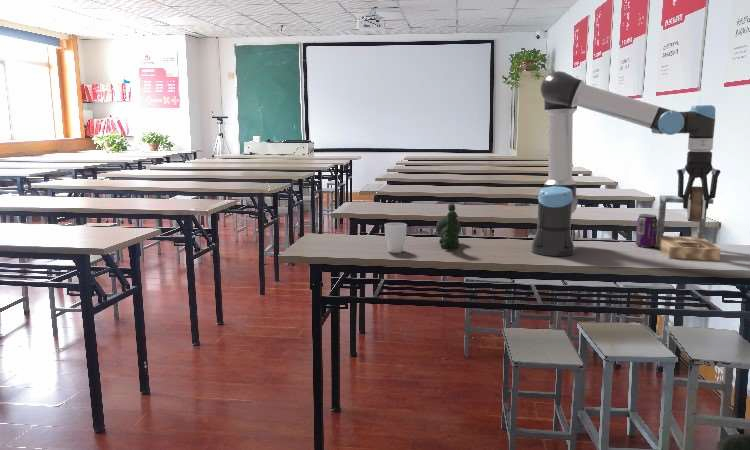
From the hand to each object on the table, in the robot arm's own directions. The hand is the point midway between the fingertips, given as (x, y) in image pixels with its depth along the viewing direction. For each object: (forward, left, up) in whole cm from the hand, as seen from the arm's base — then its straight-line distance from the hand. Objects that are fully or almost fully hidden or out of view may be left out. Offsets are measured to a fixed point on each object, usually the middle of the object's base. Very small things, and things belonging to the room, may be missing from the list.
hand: (694, 217), depth 208 cm
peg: (0, 0, -1) cm, 1 cm away
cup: (-103, -18, -14) cm, 106 cm away
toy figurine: (-85, -4, -14) cm, 87 cm away
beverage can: (-12, +15, -14) cm, 24 cm away
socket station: (0, +6, -14) cm, 15 cm away
